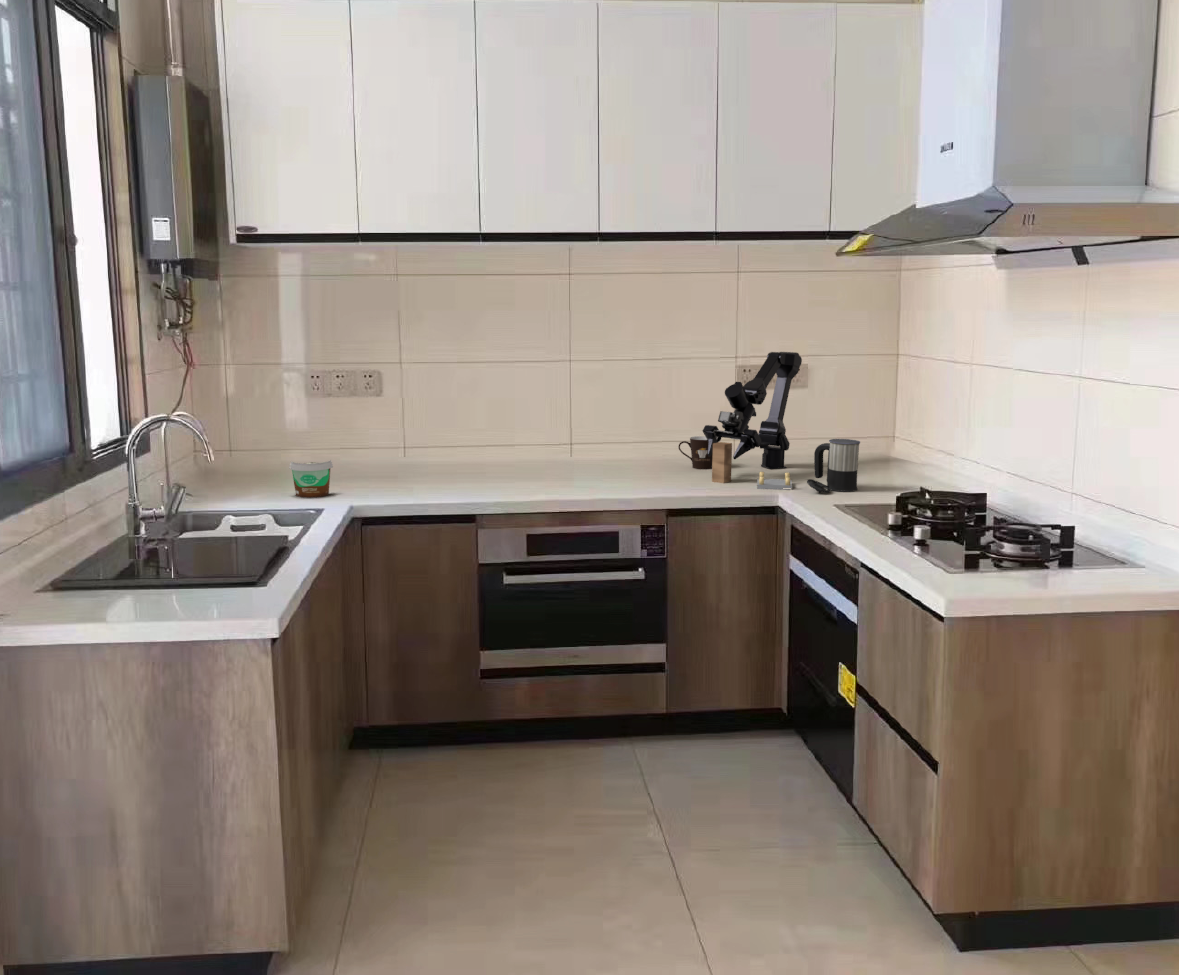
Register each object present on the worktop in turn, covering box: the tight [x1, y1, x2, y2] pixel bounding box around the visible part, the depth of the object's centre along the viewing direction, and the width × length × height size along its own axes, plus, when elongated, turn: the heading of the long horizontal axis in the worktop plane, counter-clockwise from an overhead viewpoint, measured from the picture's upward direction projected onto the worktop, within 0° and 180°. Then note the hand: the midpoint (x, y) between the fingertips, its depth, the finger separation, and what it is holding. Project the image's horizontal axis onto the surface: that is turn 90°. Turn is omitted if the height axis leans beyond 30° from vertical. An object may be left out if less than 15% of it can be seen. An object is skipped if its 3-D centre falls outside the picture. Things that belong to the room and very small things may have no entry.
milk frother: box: [806, 438, 861, 494], centre depth 335 cm, size 14×16×15 cm
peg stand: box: [756, 471, 793, 490], centre depth 343 cm, size 10×10×3 cm
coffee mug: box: [678, 435, 713, 470], centre depth 375 cm, size 12×9×10 cm
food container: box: [289, 459, 334, 499], centre depth 323 cm, size 12×6×10 cm, turn 106°
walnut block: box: [711, 441, 733, 484], centre depth 349 cm, size 4×4×12 cm
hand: (721, 456), depth 349 cm, fingers open, 9 cm apart
